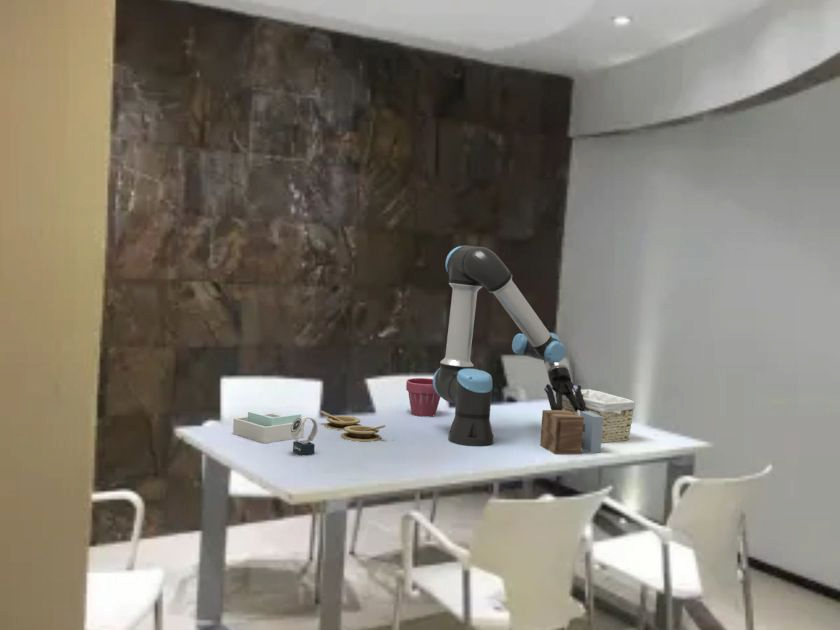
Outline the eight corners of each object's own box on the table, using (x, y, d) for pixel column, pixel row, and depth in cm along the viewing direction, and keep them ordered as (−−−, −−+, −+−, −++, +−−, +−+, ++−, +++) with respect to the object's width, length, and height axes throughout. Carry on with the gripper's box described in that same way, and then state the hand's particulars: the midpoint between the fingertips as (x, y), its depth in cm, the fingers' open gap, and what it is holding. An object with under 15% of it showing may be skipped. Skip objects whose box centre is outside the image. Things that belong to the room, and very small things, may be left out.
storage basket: (634, 441, 323) (637, 400, 322) (600, 444, 314) (604, 402, 313) (587, 427, 343) (590, 388, 342) (554, 430, 334) (557, 390, 333)
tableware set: (396, 442, 300) (397, 425, 300) (340, 445, 291) (341, 427, 291) (361, 423, 327) (362, 407, 326) (309, 425, 318) (310, 408, 317)
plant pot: (412, 418, 338) (414, 384, 337) (399, 410, 351) (401, 377, 350) (447, 417, 343) (450, 384, 342) (433, 410, 356) (435, 378, 355)
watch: (286, 452, 275) (288, 416, 274) (310, 450, 280) (312, 414, 279) (295, 456, 271) (297, 419, 270) (319, 454, 275) (321, 418, 274)
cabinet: (583, 453, 298) (586, 417, 297) (555, 454, 295) (558, 417, 294) (567, 445, 309) (569, 410, 308) (540, 445, 306) (542, 410, 305)
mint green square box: (299, 437, 296) (301, 414, 296) (270, 441, 287) (272, 418, 287) (275, 430, 304) (277, 408, 303) (246, 434, 295) (248, 411, 294)
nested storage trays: (264, 443, 284) (265, 427, 284) (232, 433, 295) (233, 418, 295) (303, 437, 296) (304, 422, 296) (272, 428, 307) (272, 413, 306)
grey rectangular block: (600, 452, 301) (603, 416, 300) (590, 452, 300) (593, 416, 299) (586, 446, 310) (589, 411, 309) (577, 446, 309) (580, 411, 308)
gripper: (576, 378, 333) (593, 434, 319) (531, 377, 327) (546, 433, 313) (584, 366, 327) (602, 422, 313) (538, 365, 322) (554, 421, 308)
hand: (574, 427), depth 313 cm, fingers open, 5 cm apart
